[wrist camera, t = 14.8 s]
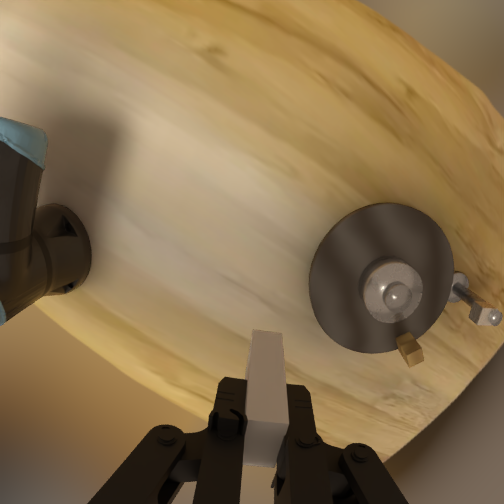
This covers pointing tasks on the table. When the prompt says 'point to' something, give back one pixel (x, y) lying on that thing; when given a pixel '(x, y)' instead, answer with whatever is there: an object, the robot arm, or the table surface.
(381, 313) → the cover
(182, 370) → the table surface
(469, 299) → the dial post
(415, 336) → the turntable
